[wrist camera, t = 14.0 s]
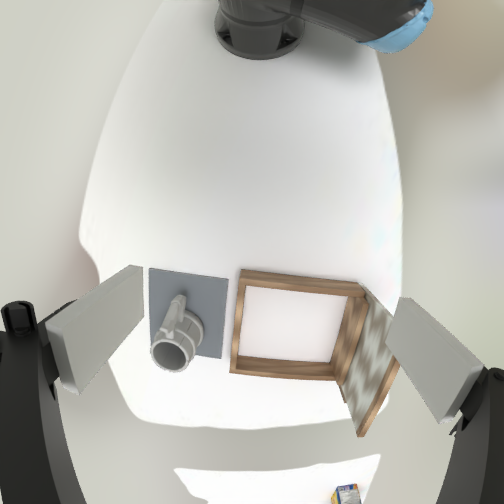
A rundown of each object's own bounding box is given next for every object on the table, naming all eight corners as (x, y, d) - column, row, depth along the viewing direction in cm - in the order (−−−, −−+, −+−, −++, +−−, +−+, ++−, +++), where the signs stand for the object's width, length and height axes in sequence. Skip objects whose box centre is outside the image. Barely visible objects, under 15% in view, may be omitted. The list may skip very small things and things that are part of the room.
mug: (165, 340, 49) (143, 378, 37) (165, 283, 46) (137, 312, 35) (204, 347, 49) (190, 388, 37) (207, 289, 46) (190, 322, 34)
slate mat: (150, 268, 46) (148, 269, 46) (228, 279, 46) (227, 280, 46) (152, 344, 50) (151, 346, 49) (221, 357, 50) (221, 358, 49)
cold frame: (241, 269, 46) (227, 324, 27) (362, 283, 45) (411, 336, 27) (231, 361, 50) (218, 436, 32) (337, 370, 50) (361, 440, 31)
